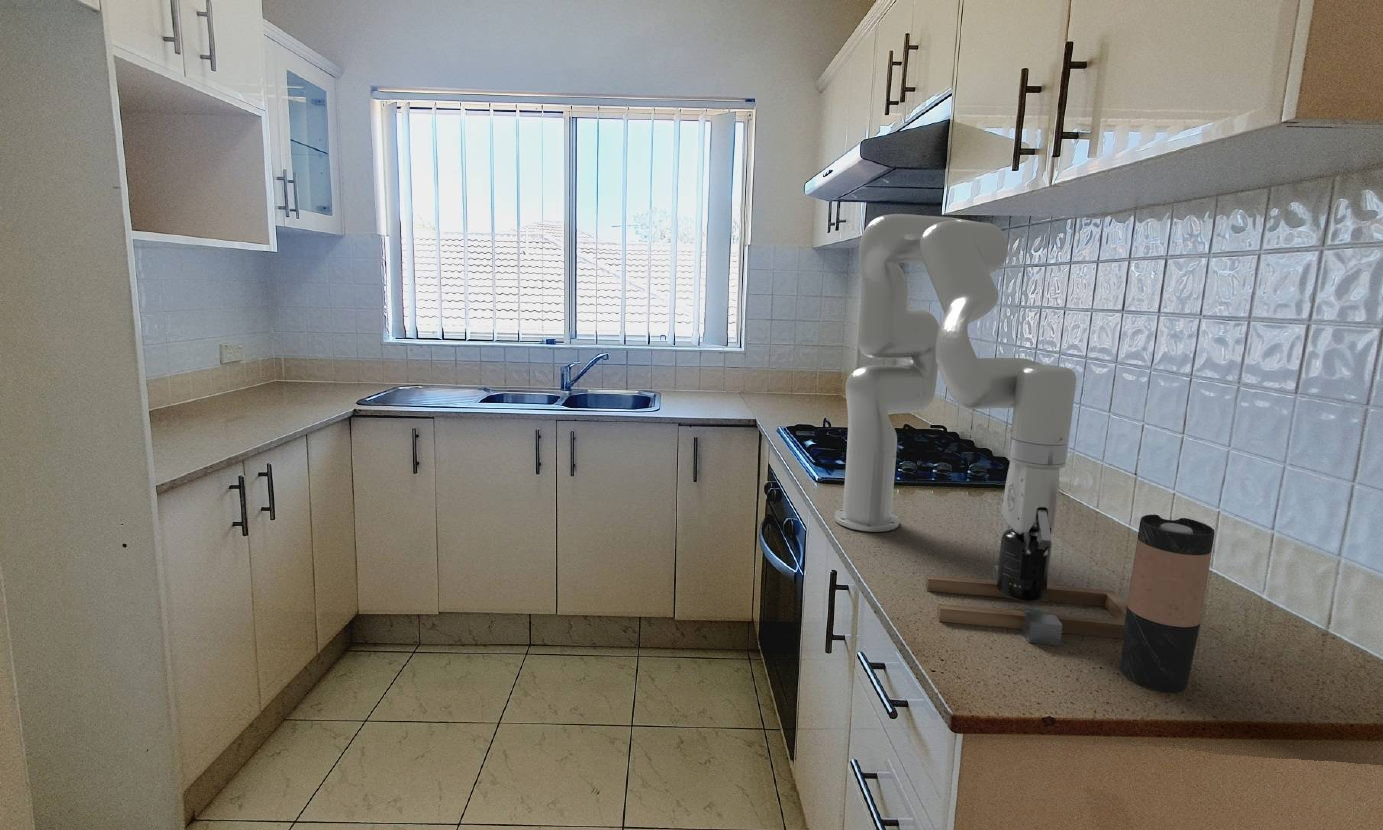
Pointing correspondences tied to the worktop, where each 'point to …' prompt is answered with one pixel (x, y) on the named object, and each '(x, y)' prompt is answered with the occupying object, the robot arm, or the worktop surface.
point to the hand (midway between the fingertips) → (1023, 568)
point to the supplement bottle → (1010, 568)
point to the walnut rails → (1016, 617)
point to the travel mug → (1165, 602)
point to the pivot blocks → (1039, 625)
